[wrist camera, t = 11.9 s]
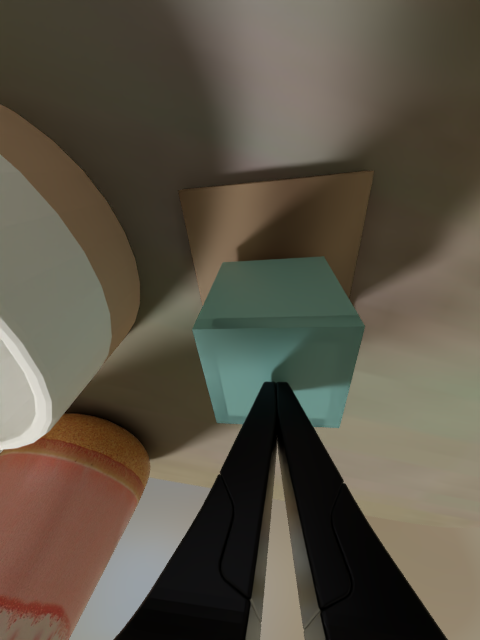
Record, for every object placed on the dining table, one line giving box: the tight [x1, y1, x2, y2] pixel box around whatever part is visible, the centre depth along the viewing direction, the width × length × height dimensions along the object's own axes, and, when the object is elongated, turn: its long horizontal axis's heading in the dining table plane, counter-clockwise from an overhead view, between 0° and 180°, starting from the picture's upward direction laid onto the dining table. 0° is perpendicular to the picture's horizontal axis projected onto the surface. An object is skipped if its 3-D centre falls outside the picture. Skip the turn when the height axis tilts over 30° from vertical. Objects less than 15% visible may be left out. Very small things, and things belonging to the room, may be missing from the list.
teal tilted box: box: [192, 256, 365, 428], centre depth 11 cm, size 5×5×6 cm
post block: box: [178, 171, 374, 305], centre depth 12 cm, size 9×12×7 cm
